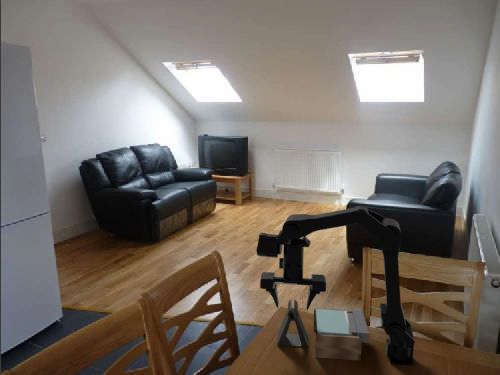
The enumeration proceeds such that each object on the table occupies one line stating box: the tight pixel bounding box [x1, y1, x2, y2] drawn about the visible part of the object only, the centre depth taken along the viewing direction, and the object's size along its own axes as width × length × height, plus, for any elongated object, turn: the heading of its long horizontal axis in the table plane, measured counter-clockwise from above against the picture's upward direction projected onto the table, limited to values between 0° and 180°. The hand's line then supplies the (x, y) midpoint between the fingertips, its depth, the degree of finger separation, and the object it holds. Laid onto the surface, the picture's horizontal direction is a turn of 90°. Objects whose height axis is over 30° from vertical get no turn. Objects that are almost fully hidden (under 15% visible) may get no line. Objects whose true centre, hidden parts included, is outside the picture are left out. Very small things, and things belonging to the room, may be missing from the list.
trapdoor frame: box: [313, 308, 363, 361], centre depth 115 cm, size 12×14×7 cm
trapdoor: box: [315, 308, 370, 344], centre depth 114 cm, size 14×12×3 cm
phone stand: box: [276, 299, 309, 349], centre depth 116 cm, size 9×6×12 cm, turn 84°
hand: (292, 308), depth 115 cm, fingers open, 8 cm apart
